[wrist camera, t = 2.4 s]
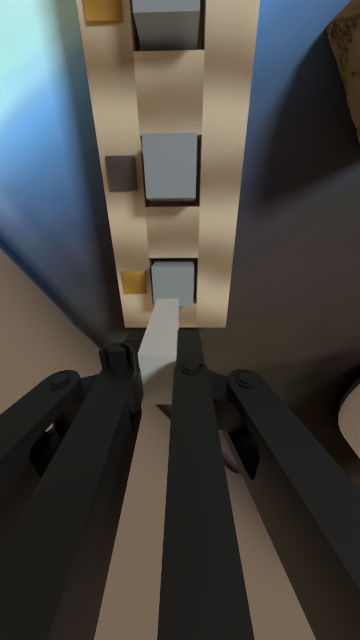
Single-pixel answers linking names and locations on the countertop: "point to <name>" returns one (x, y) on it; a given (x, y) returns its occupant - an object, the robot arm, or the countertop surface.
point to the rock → (348, 54)
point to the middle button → (170, 166)
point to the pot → (351, 416)
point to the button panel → (171, 117)
